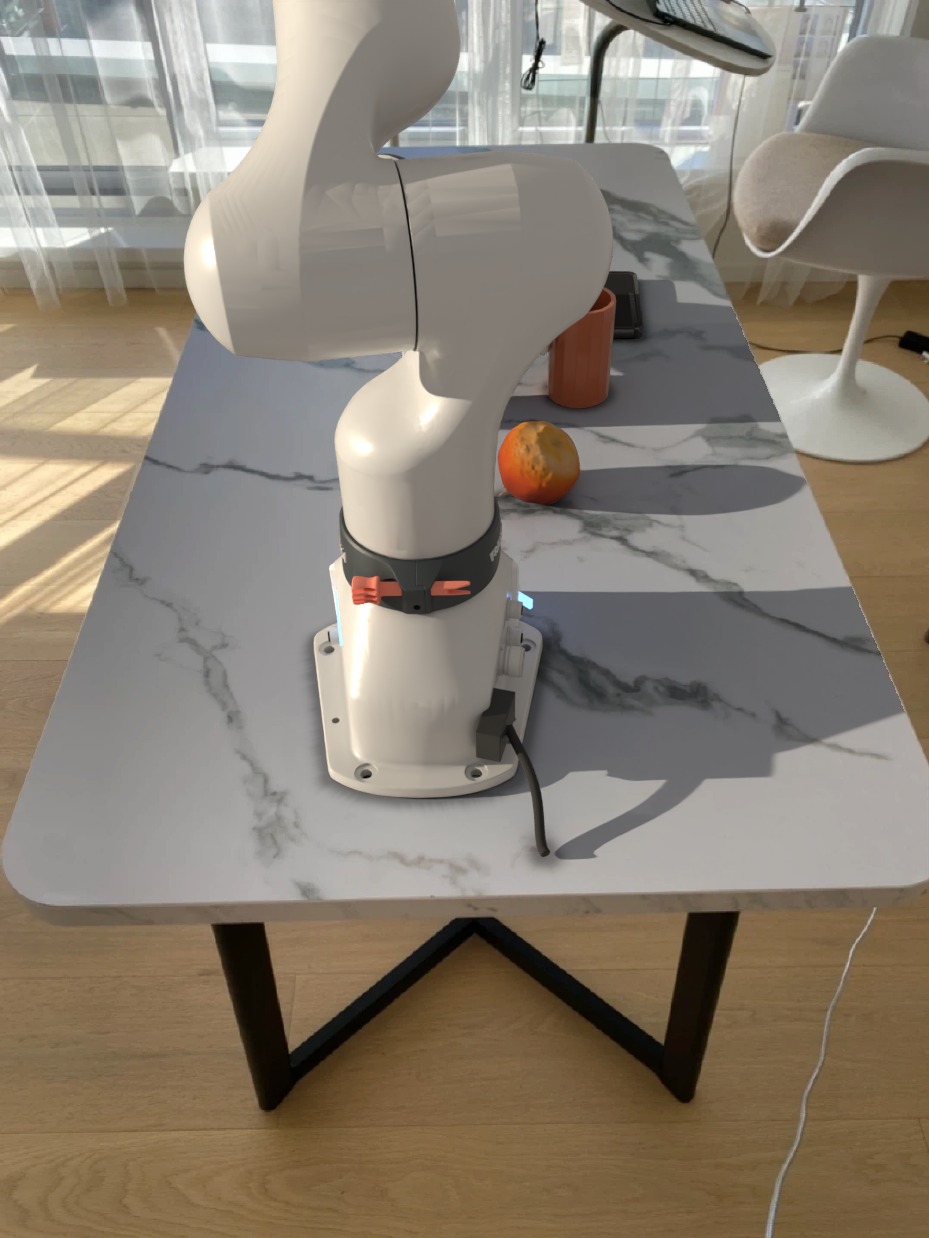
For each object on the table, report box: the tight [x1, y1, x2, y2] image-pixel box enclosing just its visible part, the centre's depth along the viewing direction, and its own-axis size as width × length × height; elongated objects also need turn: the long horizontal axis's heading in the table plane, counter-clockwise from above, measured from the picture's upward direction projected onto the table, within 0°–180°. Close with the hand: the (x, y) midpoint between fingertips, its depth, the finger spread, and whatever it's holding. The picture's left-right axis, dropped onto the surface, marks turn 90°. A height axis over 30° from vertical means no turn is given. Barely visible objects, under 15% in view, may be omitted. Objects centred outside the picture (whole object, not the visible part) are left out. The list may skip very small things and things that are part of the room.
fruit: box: [497, 421, 581, 507], centre depth 100 cm, size 8×8×8 cm
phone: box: [604, 270, 644, 339], centre depth 128 cm, size 8×1×15 cm
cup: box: [546, 287, 616, 409], centre depth 111 cm, size 7×7×11 cm
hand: (573, 326), depth 110 cm, fingers open, 8 cm apart
